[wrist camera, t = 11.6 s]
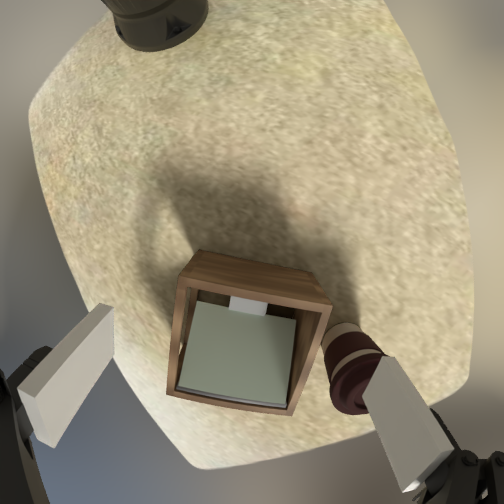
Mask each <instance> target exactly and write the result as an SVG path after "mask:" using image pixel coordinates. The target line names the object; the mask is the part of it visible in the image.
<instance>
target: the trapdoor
mask: <svg viewBox="0 0 504 504" xmlns="http://www.w3.org/2000/svg"><path fill="white" fill-rule="evenodd" d="M295 326H296V320H294V319H288V318H283V317H277V316H271V315H266V314H265V316H261V315H255V314H250V313H245V312H240V311H235V310H230V309H229V307H224V306H220V305H215V304H210V303H205V302H201V301H197V303H196V308H195V312H194V316H193V320H192V325H191V329H190V334H189V338H188V343H187V347H186V352H185V357H184V361H183V366H182V371H181V376H180V380H179V382H178V383H177V388H176V389H178V390H182V391H187V392H191V393H196V394H200V395H205V396H210V397H215V398H221V399H226V400H232V401H238V402H244V403H251V404H258V405H265V406H273V407H282V408H286V405H287V401H286V396H287V389H288V382H289V374H290V367H291V359H292V351H293V343H294V335H295Z"/></svg>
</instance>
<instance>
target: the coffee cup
mask: <svg viewBox="0 0 504 504" xmlns="http://www.w3.org/2000/svg"><path fill="white" fill-rule="evenodd" d="M322 350H323V353H324V362H325V367H326V371H327V375H328V379H329V383H330V397H331V400H332V403H333V405H334V407H335V408H336V409H337V410H339V411H340V412H342V413H345V414H349V415H360V414H368V413H369V412H368V409H367V407H366V405H365V402H364V400H363V398H362V395H363V393H364V392H365V390H366V388H367V386H368V384H369V382H370V380H371V378H372V376H373V374H374V372H375V370H376V368H377V366H378V364H379V362H380V360H381V358H382V356H388V355H386V354H384V352H383V351H382V350H381V349H380V348H379V347H378V346H377V345H376V344H375V342H374V341H373V340H372V339H371V338H370V337H369V336H368V335H366V334H365V333H364V332H363V331H362V330H361V329H360V328H359V327H358V326H357V325H355V324H352V323H341V324H338V325H335V326H334V327H332V328H331V329H330V330H329V331H328V332H327V333H326V334H325V336H324V338H323V341H322ZM389 357H390V356H389Z"/></svg>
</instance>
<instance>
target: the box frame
mask: <svg viewBox="0 0 504 504" xmlns="http://www.w3.org/2000/svg"><path fill="white" fill-rule="evenodd" d="M188 287H191V295H190V301H189V308H188V315H187V323H186V330H185V338H184V344H183V346H182V349H181V351H180V354H179V349H180V340H181V332H182V324H183V316H184V309H185V302H186V295H187V288H188ZM199 289H200V290H205V291H210V292H215V293H219V294H224V295H229V296H234V297H239V298H244V299H249V300H254V301H260V302H265V303H270V304H276V305H281V306H286V307H292V308H295V311H294V315H293V318H292V319H294V320H296V326H295V335H294V343H293V351H292V359H291V367H290V374H289V382H288V389H287V396H286V401H287V405H286V408H282V407H273V406H265V405H258V404H251V403H244V402H238V401H232V400H226V399H221V398H215V397H210V396H205V395H200V394H196V393H191V392H187V391H182V390H178V389H176V388H177V383H178V382H179V380H180V376H181V371H182V366H183V361H184V357H185V352H186V347H187V343H188V338H189V334H190V329H191V325H192V320H193V316H194V312H195V308H196V303H197V298H198V291H199ZM332 308H333V305H332V303H331V302H330V300H329V299H328V297H327V296H326V294H325V292H324V291H323V289H322V288H321V286H320V285H319V283H318V281H317V280H316V278H315V277H314V275H313V274H312V273H311V272H306V271H301V270H296V269H291V268H286V267H281V266H276V265H271V264H266V263H262V262H257V261H252V260H247V259H242V258H237V257H232V256H227V255H222V254H218V253H213V252H208V251H203V250H198V251H197V252H196V254H195V255H194V256H193V257H192V259H191V260H190V261H189V263H188V264H187V265H186V267H185V268H184V269H183V270H182V272H181V273H180V274H179V276H178V283H177V290H176V298H175V306H174V314H173V323H172V332H171V342H170V353H169V364H168V376H167V389H166V395H170V396H174V397H178V398H182V399H187V400H191V401H196V402H200V403H205V404H210V405H215V406H221V407H226V408H232V409H238V410H245V411H252V412H259V413H267V414H276V415H286V416H292V415H293V412H294V410H295V408H296V405H297V403H298V400H299V398H300V396H301V393H302V391H303V388H304V386H305V383H306V381H307V378H308V375H309V373H310V370H311V368H312V365H313V362H314V360H315V357H316V354H317V351H318V349H319V346H320V343H321V340H322V337H323V335H324V332H325V329H326V326H327V323H328V320H329V317H330V314H331V311H332Z"/></svg>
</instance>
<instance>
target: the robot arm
mask: <svg viewBox="0 0 504 504" xmlns="http://www.w3.org/2000/svg"><path fill="white" fill-rule="evenodd" d="M101 1H102V2H103V3H104V4H105V5H106V6H107V7H108V8H109V9H110V10H111V11H112V12H113V17H114V22H115V28H116V31H117V34H118V35H119V37H120V38H121V39H122V40H123V41H124V42H125V43H126V44H127V45H128V46H129V47H131V48H133V49H135V50H138V51H143V52H155V51H161V50H165V49H169V48H171V47H174V46H176V45H178V44H180V43H182V42H184V41H186V40H187V39H189V38H190V37H191V36H192V35H194V34H195V33H196V32H197V31H198V30H199V29H200V27H201V26H202V25H203V23H204V21H205V19H206V17H207V14H208V1H207V0H101ZM113 355H114V307H112V306H108V305H105V304H102V303H99V304H98V305H97V306H96V307H95V308H94V309H93V310H92V311H91V312H90V313H89V314H88V315H87V316H86V317H85V318H84V319H83V320H82V321H81V322H79V324H77V325H76V326H75V328H74V329H72V330H71V331H70V332H69V333H68V334H67V335H66V337H65V338H63V339H62V340H61V342H60V343H59V344H58V345H57V346H56V347H55V348H54V349H52V348H50V347H48V346H44V347H42V348H39V349H37V350H36V351H34V352H33V354H31V355H30V356H29V358H28V359H26V360H25V361H24V362H23V365H22V364H21V365H20V366H19V367H18V368H17V369H16V370H15V371H14V372H13V373H12V374H11V376H10V377H9V378H8V379H7V380H6V379H5V376H4V373H3V371H2V370H1V369H0V504H50V502H49V500H48V497H47V494H46V491H45V488H44V485H43V482H42V479H41V476H40V473H39V469H38V466H37V462H36V459H35V455H34V451H33V447H32V442H31V440H30V437H29V436H30V435H31V433H32V432H33V431H34V433H35V435H36V437H37V439H38V440H39V441H41V442H43V443H45V444H47V445H49V446H51V447H53V448H55V446H56V444H57V443H58V441H59V440H60V438H61V436H62V435H63V433H64V431H65V430H66V428H67V426H68V425H69V423H70V421H71V420H72V418H73V417H74V415H75V413H76V412H77V410H78V409H79V407H80V406H81V404H82V402H83V401H84V399H85V398H86V396H87V395H88V393H89V391H90V390H91V388H92V387H93V385H94V384H95V382H96V381H97V379H98V378H99V376H100V375H101V373H102V372H103V370H104V369H105V367H106V366H107V364H108V363H109V361H110V360H111V358H112V357H113ZM362 398H363V400H364V402H365V405H366V407H367V409H368V412H369V414H370V416H371V418H372V421H373V423H374V425H375V428H376V430H377V432H378V435H379V437H380V439H381V442H382V444H383V447H384V449H385V451H386V454H387V456H388V459H389V461H390V464H391V466H392V469H393V471H394V473H395V476H396V478H397V481H398V484H399V486H400V489H401V491H402V492H406V491H410V490H415V489H417V488H418V487H419V486H420V485H421V484H422V483H423V482H424V481H425V484H426V487H425V488H424V489H423V490H422V491H421V492H419V493H418V494H417V495H416V496H415V497H414V498H413V500H412V501H415V500H416V499H417V498H418V497H420V498H419V500H418V501H417V504H504V453H503V452H500V451H495V452H494V453H492V454H491V456H490V457H489V458H488V459H478V457H477V456H476V455H475V454H474V453H472V452H471V451H469V450H461V449H460V448H459V446H458V444H457V442H456V441H455V439H454V438H453V436H452V435H451V433H450V431H449V430H447V427H446V425H445V424H443V421H442V419H441V418H440V416H439V415H438V414H437V413H436V412H435V411H434V410H433V409H431V408H429V407H428V406H427V404H426V403H425V401H424V400H423V398H422V397H421V395H420V394H419V392H418V391H417V389H416V388H415V386H414V385H413V383H412V382H411V380H410V379H409V377H408V376H407V374H406V373H405V371H404V370H403V369H402V367H401V366H400V364H399V363H398V361H397V360H396V358H395V357H389V356H382V358H381V360H380V362H379V364H378V366H377V368H376V370H375V372H374V374H373V376H372V378H371V380H370V382H369V384H368V386H367V388H366V390H365V392H364V393H363V395H362ZM486 491H488V495H487V496H486V497H485V498H484V499H482V494H483V493H484V492H486Z"/></svg>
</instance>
